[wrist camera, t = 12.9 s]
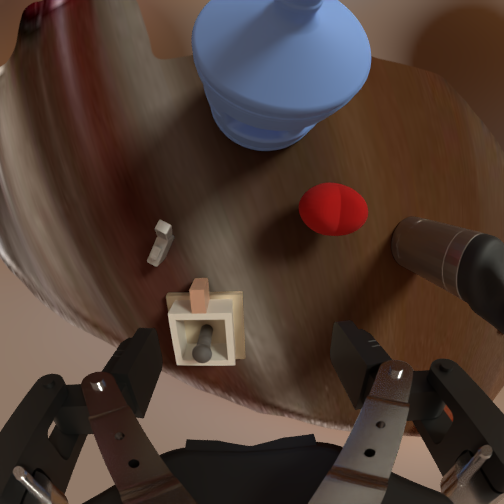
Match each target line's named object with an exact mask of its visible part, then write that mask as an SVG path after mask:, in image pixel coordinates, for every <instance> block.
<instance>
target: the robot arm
mask: <svg viewBox="0 0 504 504" xmlns="http://www.w3.org/2000/svg"><path fill="white" fill-rule="evenodd" d="M391 249H392V254H393V256H394V259H395V260H396V262H397V263H398V264H399V265H401V266H403V267H405V268H407V269H408V270H410V271H412V272H414V273H416V274H417V275H419V276H421V277H423V278H425V279H426V280H428V281H430V282H432V283H434V284H435V285H437V286H439V287H441V288H443V289H444V290H446V291H448V292H450V293H451V294H453V295H455V296H457V297H458V298H460V299H462V300H463V301H465V302H467V303H468V304H469V306H470V307H471V309H472V310H473V311H474V312H475V313H476V314H478V315H479V316H481V317H482V318H483V319H485V320H486V321H487V322H489V323H490V324H491V325H493V326H494V327H495V328H496V329H498V330H499V331H500V332H501V333H503V334H504V244H503V242H502V241H501V240H500V239H498V238H497V237H495V236H492V235H488V234H484V233H480V232H477V231H473V230H468V229H465V228H461V227H457V226H453V225H449V224H444V223H440V222H436V221H432V220H428V219H423V218H418V217H408V218H406V219H404V220H403V221H402V222H400V223H399V225H398V226H397V227H396V229H395V231H394V234H393V237H392V242H391ZM330 358H331V362H332V365H333V367H334V368H335V370H336V372H337V374H338V376H339V378H340V380H341V382H342V384H343V386H344V388H345V390H346V392H347V394H348V396H349V398H350V400H351V402H352V404H353V406H354V408H355V410H357V409H361V412H360V414H359V416H358V418H357V420H356V422H355V425H354V427H353V429H352V431H351V433H350V435H349V437H348V439H347V441H346V443H345V445H344V447H341V446H338V445H334V444H329V443H323V442H316V440H315V437H314V434H309V435H302V436H295V437H285V438H280V439H278V440H274V441H270V442H266V443H262V444H258V445H254V446H245V445H238V444H232V443H227V442H221V441H212V440H188V439H187V441H186V447H185V448H180V449H176V450H172V451H169V452H166V453H163V454H161V455H159V454H158V453H157V451H156V450H155V448H154V446H153V445H152V443H151V442H150V440H149V439H148V437H147V436H146V434H145V432H144V431H143V429H142V427H141V425H140V424H139V422H138V420H137V419H136V417H137V418H144V416H145V413H146V410H147V408H148V405H149V402H150V399H151V397H152V394H153V391H154V389H155V386H156V383H157V381H158V378H159V375H160V372H161V370H162V363H163V362H162V354H161V350H160V345H159V340H158V335H157V331H156V329H155V328H138V330H137V331H136V333H135V334H134V336H133V337H132V338H128V339H126V340H125V341H123V342H122V343H121V344H120V345H119V347H118V348H117V351H115V353H114V354H113V356H112V357H111V359H110V360H109V361H108V363H107V364H106V366H105V367H104V369H103V370H102V372H95V373H92V374H89V375H88V376H86V377H85V378H84V379H83V381H82V383H81V384H78V385H77V384H76V385H66V384H65V382H64V380H63V378H62V377H61V376H60V375H57V374H48V375H45V376H43V377H41V378H40V379H38V380H37V382H36V383H35V384H34V385H33V387H32V388H31V390H30V391H29V392H28V393H27V395H26V396H25V397H24V399H23V400H22V402H21V403H20V404H19V406H18V407H17V408H16V410H15V411H14V413H13V414H12V415H11V417H10V418H9V420H8V421H7V423H6V424H5V426H4V427H3V429H2V430H1V432H0V504H68V500H67V498H66V496H65V495H64V494H65V492H66V489H67V486H68V483H69V480H70V477H71V475H72V472H73V469H74V467H75V464H76V462H77V459H78V457H79V454H80V451H81V449H82V447H83V444H84V442H85V439H86V437H87V435H88V434H94V436H95V439H96V442H97V444H98V447H99V449H100V452H101V454H102V457H103V459H104V461H105V464H106V466H107V468H108V470H109V473H110V475H111V477H112V479H113V481H114V483H115V485H114V486H112V487H110V488H109V489H107V490H105V491H104V492H102V493H100V494H98V495H97V496H95V497H93V498H91V499H90V500H88V501H86V502H84V503H82V504H497V503H498V502H499V501H500V500H502V499H503V498H504V414H503V413H502V412H501V411H500V409H499V408H498V407H497V406H496V405H495V404H494V403H493V401H492V400H491V399H490V398H489V397H488V396H487V395H486V394H485V393H484V391H483V390H482V389H481V388H480V387H479V386H478V385H477V384H476V383H475V382H474V381H473V380H472V379H471V377H470V376H469V375H468V374H467V373H466V372H465V371H464V370H463V369H462V368H461V367H460V366H459V365H458V364H457V363H456V362H454V361H452V360H449V359H437V360H435V361H434V362H432V364H431V367H430V370H427V371H413V369H412V367H411V366H410V365H409V364H407V363H406V362H403V361H400V360H392V359H391V358H390V356H389V355H388V354H387V353H386V352H385V350H384V349H383V348H382V347H381V346H380V344H379V343H378V342H377V341H375V339H374V337H373V336H372V335H371V334H370V333H368V332H366V331H365V330H363V329H358V328H357V327H356V325H355V324H354V323H353V322H352V321H351V320H347V321H338V322H335V323H334V325H333V332H332V341H331V349H330ZM446 405H447V407H448V408H449V409H450V411H451V412H452V415H453V422H452V420H451V419H450V418H449V416H448V415H447V413H446V412H445V410H444V408H445V406H446ZM53 421H54V422H55V424H56V425H55V427H54V429H53V431H52V433H51V435H50V437H49V439H48V429H49V427H50V425H51V423H52V422H53ZM406 421H413V423H414V425H415V427H416V428H417V430H418V432H419V434H420V435H421V437H422V439H423V441H424V442H425V444H426V446H427V448H428V450H429V452H430V453H431V455H432V457H433V459H434V461H435V463H436V464H437V466H438V468H439V470H440V472H441V474H442V476H443V478H442V480H441V485H440V486H441V493H440V492H438V491H435V490H433V489H430V488H427V487H425V486H422V485H420V484H417V483H415V482H413V481H410V480H408V479H406V478H404V477H401V476H399V475H397V474H395V473H393V472H391V471H392V468H393V465H394V462H395V459H396V456H397V453H398V450H399V446H400V443H401V439H402V436H403V432H404V428H405V424H406Z"/></svg>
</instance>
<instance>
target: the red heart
mask: <svg viewBox="0 0 504 504" xmlns="http://www.w3.org/2000/svg"><path fill="white" fill-rule="evenodd" d="M299 213H300V216H301V218H302V220H303V222H304V223H305V224H306V225H307V226H308V227H309V228H310V229H312V230H313V231H315V232H317V233H319V234H323V235H329V236H341V235H346V234H350V233H352V232H354V231H356V230H358V229H359V228H361V227H362V226H363V224H364V223H365V221H366V219H367V216H368V208H367V204H366V202H365V200H364V199H363V198H362V196H361V195H360V194H359V193H357V192H356V191H355V190H353V189H351V188H350V187H347V186H345V185H342V184H337V183H322V184H319V185H316V186H314V187H312V188H310V189H309V190H308V191H307V192H306V193H305V194H304V195H303V196H302V198H301V200H300V202H299Z"/></svg>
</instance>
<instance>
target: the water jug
mask: <svg viewBox="0 0 504 504" xmlns="http://www.w3.org/2000/svg"><path fill="white" fill-rule="evenodd" d="M192 50H193V57H194V62H195V66H196V69H197V72H198V74H199V77H200V79H201V81H202V83H203V84H204V90H205V94H206V97H207V100H208V102H209V105H210V107H211V111H212V115H213V118H214V120H215V122H216V124H217V125H218V127H219V128H220V130H221V131H222V132H223V133H224V134H225V135H226V136H227V137H228V138H229V139H231V140H232V141H233V142H235V143H237V144H239V145H241V146H243V147H246V148H249V149H252V150H258V151H274V150H279V149H283V148H286V147H288V146H290V145H292V144H294V143H296V142H297V141H299V140H300V139H301V138H303V137H304V136H305V135H306V134H307V133H308V132H309V131H310V130H311V129H312V128H313V127H314V126H315V125H316V124H317V123H318V122H320V121H322V120H323V119H325V118H326V117H328V116H330V115H332V114H333V113H335V112H336V111H338V110H339V109H341V108H342V107H343V106H344V105H346V104H347V103H348V102H349V101H350V100H351V99H352V98H353V97H354V95H355V94H356V93H357V92H358V91H359V90H360V89H361V87H362V86H363V84H364V83H365V81H366V79H367V77H368V74H369V71H370V66H371V50H370V45H369V41H368V38H367V36H366V33H365V31H364V29H363V27H362V26H361V24H360V23H359V21H358V20H357V18H356V17H355V16H354V15H353V14H352V12H351V11H350V10H349V9H348V8H346V7H345V6H344V5H343V4H342V3H341V2H339V1H338V0H211V1H210V2H208V3H207V5H205V7H204V8H203V9H202V11H201V12H200V14H199V15H198V17H197V19H196V21H195V24H194V27H193V31H192Z"/></svg>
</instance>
